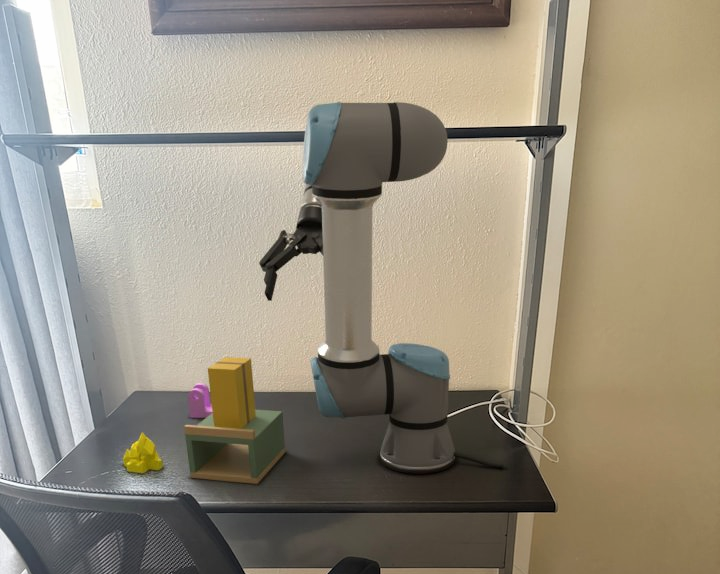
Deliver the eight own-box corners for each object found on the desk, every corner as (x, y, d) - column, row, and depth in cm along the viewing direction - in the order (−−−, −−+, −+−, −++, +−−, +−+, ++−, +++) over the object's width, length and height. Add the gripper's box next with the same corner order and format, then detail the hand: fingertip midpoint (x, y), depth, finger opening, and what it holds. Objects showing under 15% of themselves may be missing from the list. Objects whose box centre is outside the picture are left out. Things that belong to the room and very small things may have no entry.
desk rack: (285, 452, 148) (282, 403, 144) (257, 484, 134) (252, 431, 130) (224, 447, 152) (219, 399, 147) (190, 477, 138) (183, 426, 133)
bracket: (190, 417, 169) (186, 390, 166) (196, 409, 174) (193, 382, 171) (243, 417, 168) (241, 389, 165) (248, 409, 173) (245, 382, 170)
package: (256, 416, 142) (251, 358, 137) (240, 430, 135) (235, 369, 130) (230, 414, 143) (224, 356, 138) (214, 428, 136) (207, 368, 131)
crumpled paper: (134, 459, 146) (128, 424, 143) (168, 463, 144) (163, 427, 141) (118, 470, 141) (111, 434, 138) (152, 474, 139) (147, 438, 136)
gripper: (374, 227, 155) (358, 310, 148) (268, 227, 161) (248, 306, 154) (368, 204, 148) (351, 288, 141) (257, 204, 154) (237, 285, 147)
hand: (298, 298), depth 148 cm, fingers open, 13 cm apart
